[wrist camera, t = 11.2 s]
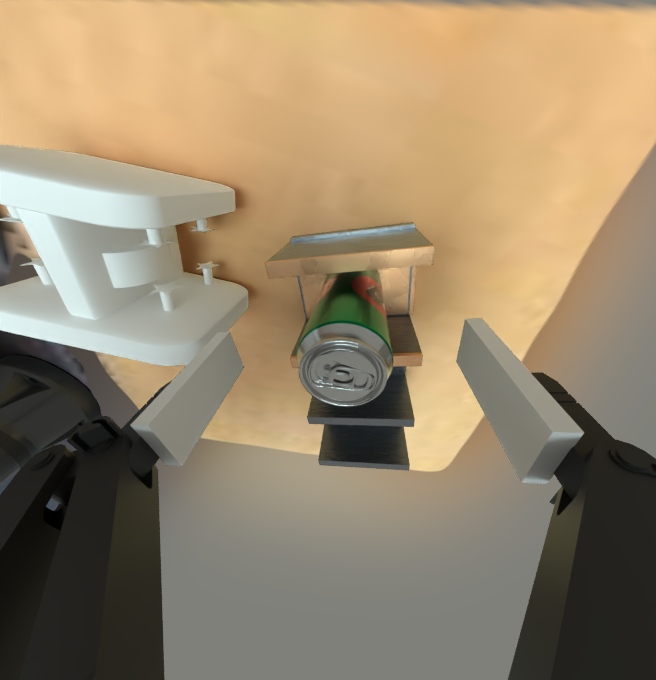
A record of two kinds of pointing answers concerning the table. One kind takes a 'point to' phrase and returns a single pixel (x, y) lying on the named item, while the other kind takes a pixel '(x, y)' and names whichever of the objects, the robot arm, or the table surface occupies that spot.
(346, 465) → the can rack
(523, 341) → the table surface
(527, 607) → the robot arm
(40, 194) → the cable organizer
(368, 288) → the soda can
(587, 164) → the table surface
